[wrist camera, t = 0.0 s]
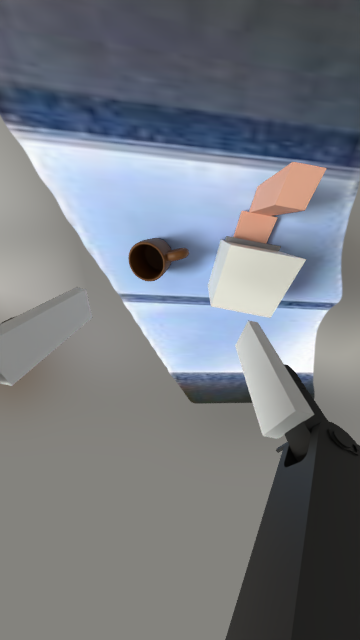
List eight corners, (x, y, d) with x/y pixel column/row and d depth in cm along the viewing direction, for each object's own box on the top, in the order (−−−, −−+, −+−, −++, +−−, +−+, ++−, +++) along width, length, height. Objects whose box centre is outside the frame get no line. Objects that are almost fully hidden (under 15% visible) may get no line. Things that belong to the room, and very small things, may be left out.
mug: (187, 229, 32) (183, 229, 24) (193, 264, 36) (191, 274, 28) (138, 241, 34) (121, 246, 27) (149, 273, 38) (136, 285, 30)
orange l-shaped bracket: (249, 184, 27) (280, 159, 17) (286, 191, 27) (339, 170, 17) (219, 280, 37) (226, 300, 27) (245, 285, 37) (263, 307, 27)
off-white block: (222, 234, 32) (232, 238, 22) (275, 245, 32) (310, 253, 22) (207, 285, 38) (210, 306, 28) (251, 294, 38) (270, 317, 28)
